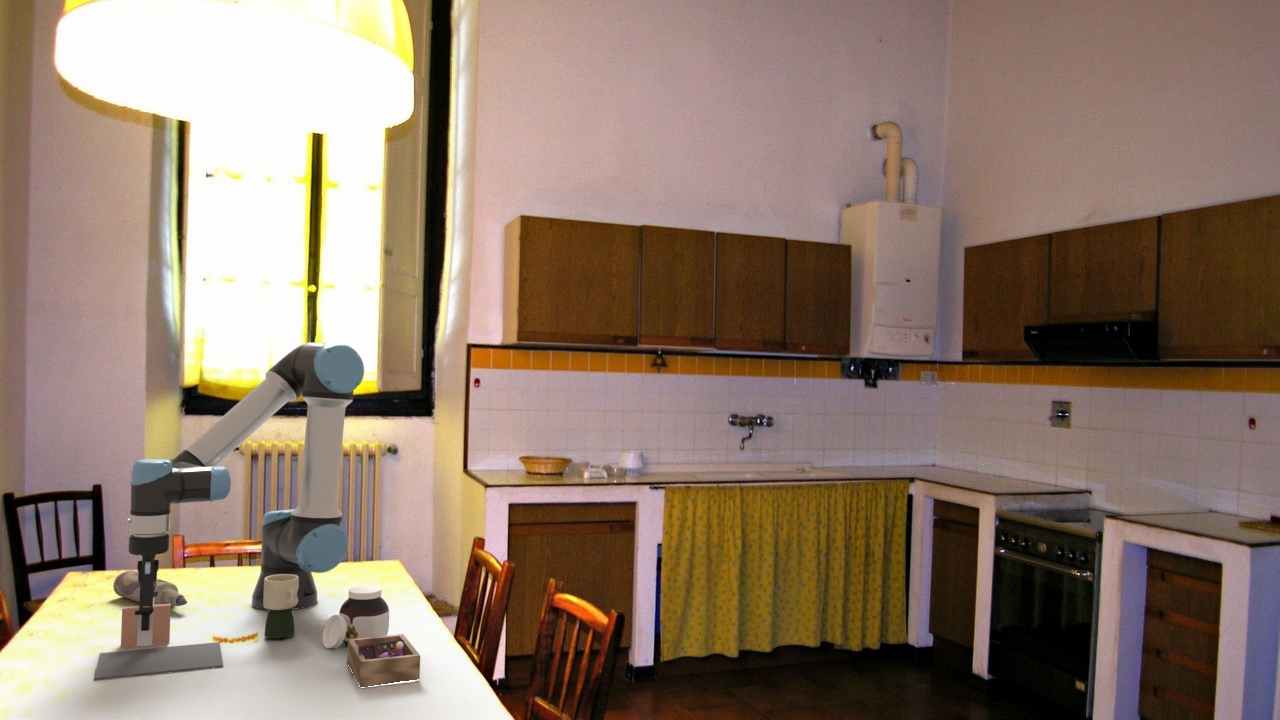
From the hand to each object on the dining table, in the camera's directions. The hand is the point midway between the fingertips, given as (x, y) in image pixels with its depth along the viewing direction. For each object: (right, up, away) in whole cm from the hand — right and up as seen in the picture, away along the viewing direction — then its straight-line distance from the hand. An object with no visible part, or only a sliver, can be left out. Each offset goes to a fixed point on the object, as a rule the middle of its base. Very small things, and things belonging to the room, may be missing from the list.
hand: (145, 636), depth 197 cm
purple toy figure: (+53, -4, -14) cm, 55 cm away
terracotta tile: (0, -2, 0) cm, 2 cm away
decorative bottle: (-15, -1, +30) cm, 33 cm away
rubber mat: (+8, -2, -10) cm, 13 cm away
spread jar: (+42, -3, +4) cm, 43 cm away
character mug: (+25, -3, +8) cm, 26 cm away
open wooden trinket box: (+53, -3, -13) cm, 55 cm away
